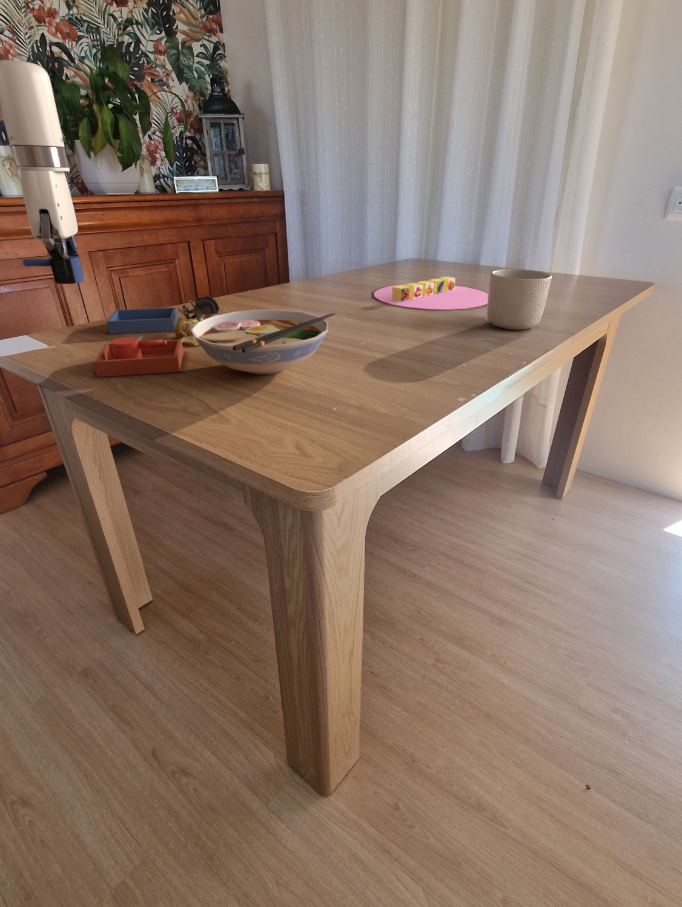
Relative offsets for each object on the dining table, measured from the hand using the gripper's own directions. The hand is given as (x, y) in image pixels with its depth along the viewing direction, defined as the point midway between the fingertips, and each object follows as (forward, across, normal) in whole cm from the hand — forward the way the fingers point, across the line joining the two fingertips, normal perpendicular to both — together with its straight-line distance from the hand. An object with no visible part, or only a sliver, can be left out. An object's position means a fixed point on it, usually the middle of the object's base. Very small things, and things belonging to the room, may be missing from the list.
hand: (69, 279), depth 87 cm
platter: (+12, -34, +81) cm, 89 cm away
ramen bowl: (+13, +15, +32) cm, 38 cm away
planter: (+12, -2, +88) cm, 89 cm away
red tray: (+13, +9, +12) cm, 20 cm away
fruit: (+13, -4, +19) cm, 24 cm away
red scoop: (+12, +9, +12) cm, 19 cm away
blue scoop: (0, 0, -2) cm, 2 cm away
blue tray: (+13, -17, +8) cm, 23 cm away
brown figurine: (+13, -15, +21) cm, 29 cm away
